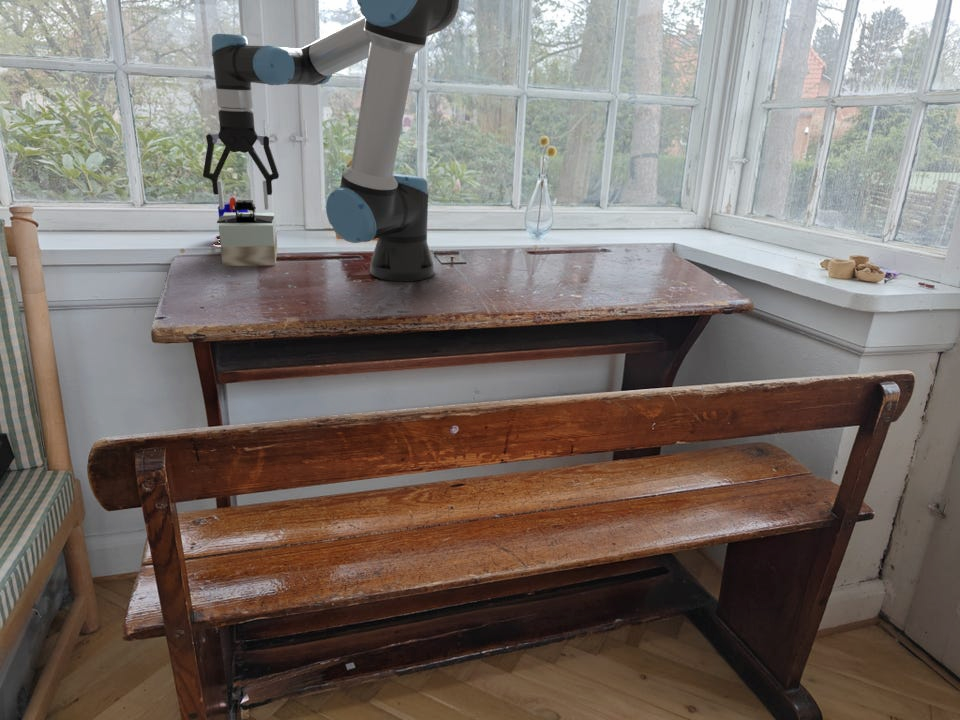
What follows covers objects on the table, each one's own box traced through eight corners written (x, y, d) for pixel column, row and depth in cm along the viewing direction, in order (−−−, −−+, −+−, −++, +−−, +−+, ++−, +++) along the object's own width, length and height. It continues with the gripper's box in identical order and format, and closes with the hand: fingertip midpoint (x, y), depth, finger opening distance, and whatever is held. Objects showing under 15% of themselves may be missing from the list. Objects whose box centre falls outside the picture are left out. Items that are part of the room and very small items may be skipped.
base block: (277, 251, 173) (276, 232, 170) (275, 266, 159) (273, 246, 157) (229, 251, 170) (227, 232, 168) (222, 267, 156) (220, 246, 154)
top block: (275, 231, 171) (274, 212, 169) (274, 246, 157) (272, 225, 155) (226, 232, 168) (224, 212, 166) (220, 246, 154) (218, 225, 152)
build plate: (216, 223, 155) (214, 203, 153) (221, 216, 161) (219, 197, 160) (271, 223, 157) (270, 204, 156) (274, 217, 164) (272, 198, 162)
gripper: (286, 110, 156) (292, 205, 165) (185, 106, 151) (197, 205, 160) (285, 112, 150) (292, 211, 159) (180, 108, 144) (193, 211, 153)
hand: (244, 208), depth 159 cm, fingers open, 9 cm apart
